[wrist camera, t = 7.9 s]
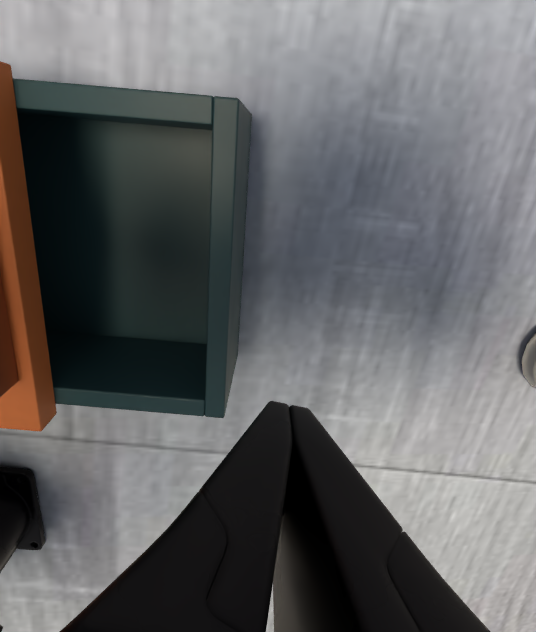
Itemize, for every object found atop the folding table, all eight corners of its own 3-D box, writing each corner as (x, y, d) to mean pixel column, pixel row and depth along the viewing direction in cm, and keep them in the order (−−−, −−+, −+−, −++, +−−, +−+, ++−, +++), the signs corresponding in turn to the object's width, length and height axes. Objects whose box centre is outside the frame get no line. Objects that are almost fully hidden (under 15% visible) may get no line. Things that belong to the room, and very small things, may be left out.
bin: (252, 113, 17) (239, 97, 12) (237, 355, 22) (223, 418, 17) (-184, 75, 17) (-381, 43, 12) (-111, 325, 22) (-233, 379, 17)
